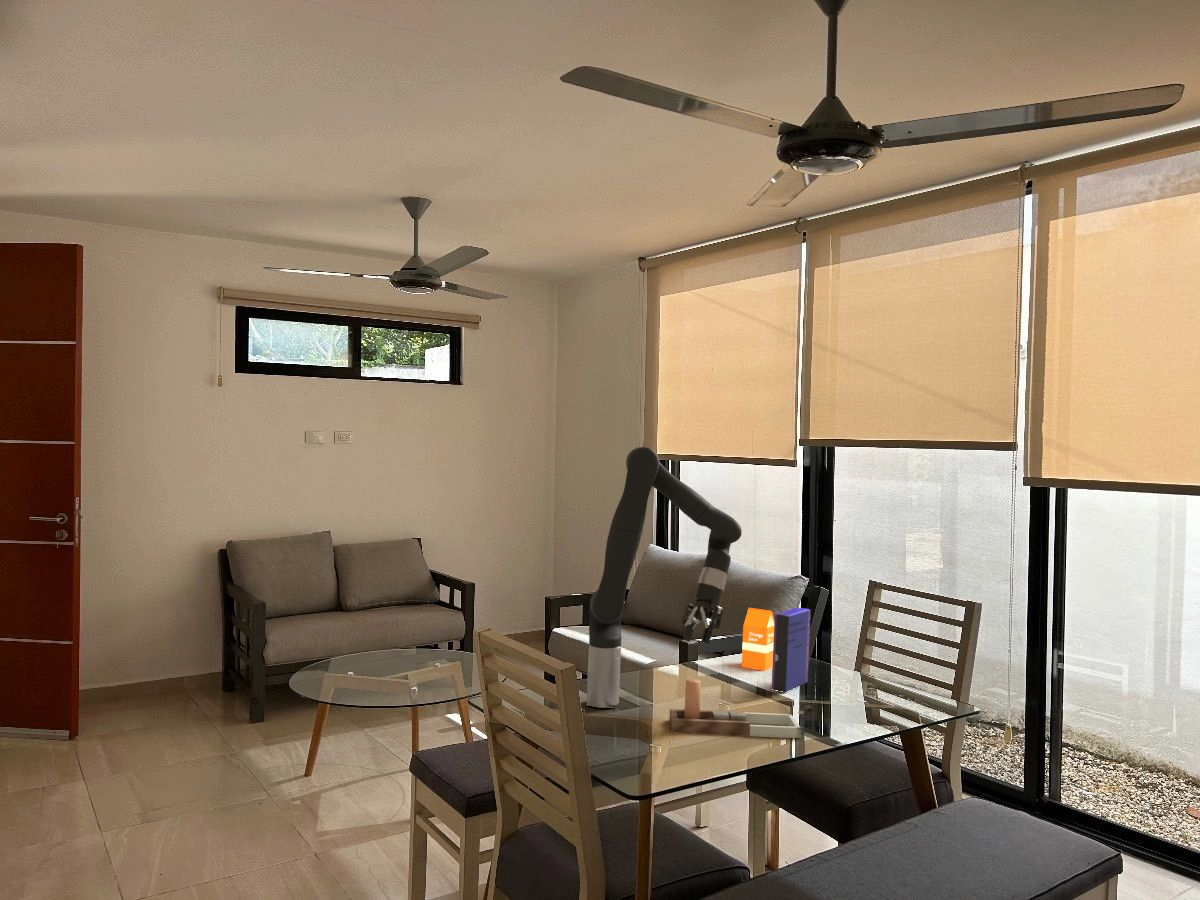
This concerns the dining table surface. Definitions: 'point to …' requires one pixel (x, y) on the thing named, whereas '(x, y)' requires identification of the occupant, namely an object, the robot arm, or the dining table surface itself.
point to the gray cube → (737, 716)
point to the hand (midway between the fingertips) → (695, 641)
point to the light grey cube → (720, 715)
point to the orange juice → (758, 639)
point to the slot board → (706, 724)
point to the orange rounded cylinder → (692, 699)
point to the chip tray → (773, 731)
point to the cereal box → (790, 649)
